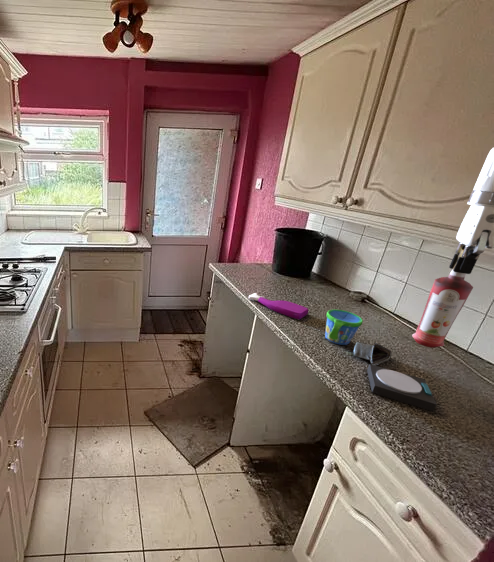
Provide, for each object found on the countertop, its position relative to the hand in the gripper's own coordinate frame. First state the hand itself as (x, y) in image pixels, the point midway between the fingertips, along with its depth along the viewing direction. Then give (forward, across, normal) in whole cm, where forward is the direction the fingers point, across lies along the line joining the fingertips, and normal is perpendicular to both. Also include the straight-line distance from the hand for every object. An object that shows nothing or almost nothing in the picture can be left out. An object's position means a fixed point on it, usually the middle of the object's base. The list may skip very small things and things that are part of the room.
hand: (459, 270), depth 82 cm
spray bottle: (+35, +30, +42) cm, 62 cm away
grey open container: (+35, +7, +10) cm, 37 cm away
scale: (+35, -9, +4) cm, 36 cm away
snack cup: (+35, +13, +19) cm, 42 cm away
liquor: (+23, 0, 0) cm, 23 cm away
